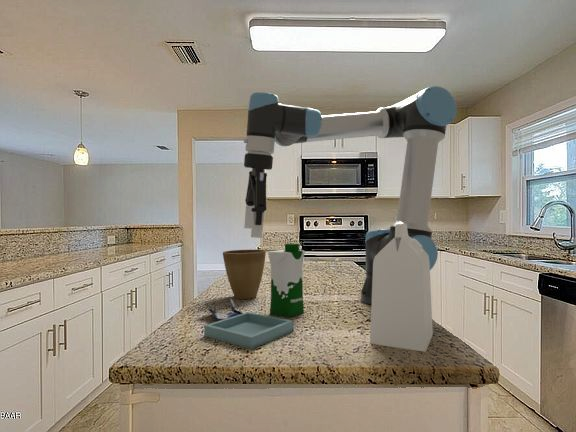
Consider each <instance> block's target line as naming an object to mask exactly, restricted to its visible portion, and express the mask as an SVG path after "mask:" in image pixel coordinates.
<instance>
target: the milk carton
mask: <svg viewBox="0 0 576 432" xmlns="http://www.w3.org/2000/svg"><path fill="white" fill-rule="evenodd" d="M305 253H306V252H305V250H303V249H300V244H299V243H285V244H284V249H279V250H270V251H267V255H268V259H269V264H270V265H269V266H270V304H269V314H270V315H275V316H279V317H284V318H287V319H288V318H292V317H295V316H297V315H300V314H304V313H305V308H304V299H303V298H304V297H303V294H304V293H303V287H304V286H303V285H304V284H303V264H304V258H305Z"/></svg>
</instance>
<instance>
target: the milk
mask: <svg viewBox="0 0 576 432" xmlns="http://www.w3.org/2000/svg"><path fill="white" fill-rule="evenodd" d="M431 287H432V286H431V270H430V263H429V256H428V254H427V253H426V252H425V250H424V249H423V248H422V245H421V244H420V243H419V242H418V241H417V240H416V239H414V238H413V239H412V238H411V237H410V236H408V230H407V224H395V237H394V238H393V239H392V240H391V241H390V242H389V243H388V244H387V245H386V246H385V247H384V248H383V249H382V250H381V251H380V252H379V253H378V254H377V255H376V256H375V258H374V261H373V279H372V304H371V308H370V309H371V310H370V312H371V313H370V336H369V344H371V345H377V346H378V345H379V346H384V347H385V346H386V347H390V348H391V347H392V348H398V349H405V350H412V351H418V352H419V351H420V352H423V353H424V352H427V350H428V348H429V345H430V342H431V340H432V337H433V335H434V332H433V331H434V329H433V312H432V311H433V309H432V307H433V306H432V291H431V290H432V289H431Z"/></svg>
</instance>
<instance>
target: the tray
mask: <svg viewBox="0 0 576 432" xmlns="http://www.w3.org/2000/svg"><path fill="white" fill-rule="evenodd" d="M242 313H243V312H242ZM203 329H204V333H203V334H204V335H203V336H204V337H206V338H210V339H214V340H217V341H221V342H225V343H228V344H231V345H235V346H240V347H242V348H247V349H248V350H249V349H250V350H253V349H256V348H257V347H259V346H262V345H265V344H267V343H269V342H272V341H274V340H277V339H279V338H281V337H284V336H286V335H288V334H290V332H291V333H293V332H294V320H291V319H285V318H281V317H276V316H275V317H274V316H270V315H266V314H261V313H255V312H251V311H247V312H244V313H243V314H240V315H237V316H233V317H230V318H227V317H226V318H225V319H224V320H220V321H218V320H217V321H215V322H212V323H211V322H210V323H208V324H205V325H204V326H203ZM292 331H293V332H292ZM285 334H286V335H285ZM283 335H284V336H283Z"/></svg>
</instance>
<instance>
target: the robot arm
mask: <svg viewBox="0 0 576 432" xmlns="http://www.w3.org/2000/svg"><path fill="white" fill-rule="evenodd" d="M451 94H452V93H451V92H449V90H447V89H446V88H444V87H442V86H438V85H437V86H435V85H434V86H433V85H432V86H429V87H427V88H424V89H421V90H419V91H418V92H417V93H416V94H413V95H411V96H409V97H407V98H405V99H404V100H402V101H400V102H397V103H395V104H393V105H391V106H387V107H379V108H377V110H376V111H367V112H366V111H365V112H355V113H354V112H353V113H342V114H341V113H340V114H328V115H322V113H321V110H318V109H314V108H311V107H309V106H308V107H306V106H305V107H303V106H297V105H290V104H289V105H288V104H282V103H279V102H280V101H279V96H278V95H277V94H274V93H270V92H265V91H259V92H253V93H252V94H251V95H249V103H248V104H249V105H248V110H247V125H246V139H244V140H243V143H244V144H245V152H246V153H245V154H244V161H243V167H244V168H248V169H251V170H250V171H249V172H248V180H247V181H248V182H247V188H246V194H245V195H246V196H245V204H246V205H245V216H244V229H249V230H250V237H251V238H254V239H256V238H257V239H259V238H260V239H261V238H263V227H264V219H265V217H264V216H265V212H266V211H267V177H268V174H267V172H265V170H268V171H270V170H272V169H273V162H274V157H273V154H274V153H275V145H276V144H277V145H279V146H280V147H289V146H292V145H293V144H304V143H311V142H322V141H333V140H342V139H343V140H344V139H353V138H354V139H355V138H364V137H376V136H377V137H378V138H379V139H388V138H389V139H392V138H404V139H405V140H406V149H405V156H404V157H405V158H404V163H403V172H402V179H401V186H400V192H399V193H400V194H399V201H398V209H397V214H396V220H395V222H393V223H392V224H391V225H390V227H389V228H381V229H373V230H368V231H367V232H366V233H365V240H364V245H365V278H364V282H363V286H362V289H361V291H360V301H361V302H363V303H365V304H368V305H372V279H373V261H374V258H375V256H376V255H377V254H378V253H379V252H380V251H381V250H382V249H383V248H384V247H385V246H386V245H387V244H388V243H389V242H390V241H391V240H392V239H393V238H394V237H395V224H407V230H408V236H410V237H411V238H412V239H413V238H414V239H416V240H417V241H418V242H419V243H420V244H421V245H422V248H423V249H424V250H425V252H426V253H427V254H428V256H429V263H430V271H431V270H432V269H434V266H435V265H436V263H437V261H438V248H437V246H436V244H435V241H434V240H433V239H432V237H433V236H432V235H433V230H432V229H431V227H429V224H428V222H429V216H430V207H431V201H432V193H433V184H434V177H435V171H436V170H435V169H436V164H437V163H436V162H437V155H438V148H439V143H440V142H441V141H443V140H444V139H445V137H446V129H447V126H448V125H450V124H451V123H452V122H453V121H454V119H455V118H456V115H457V113H458V112H457V110H458V108H457V103H456V100H455V98H454V97H453V96H452V95H451Z"/></svg>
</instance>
